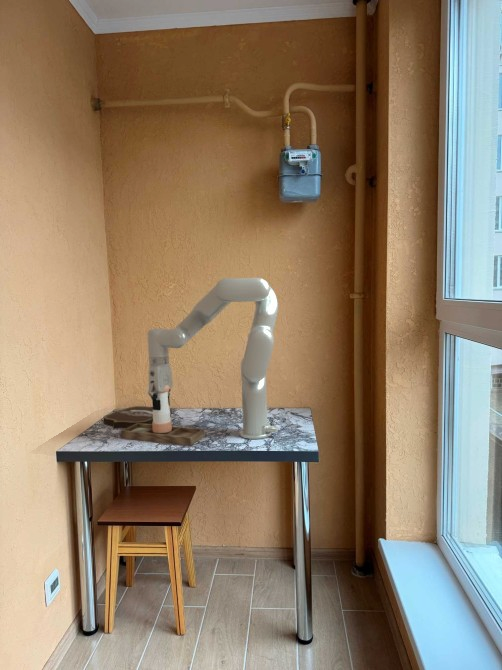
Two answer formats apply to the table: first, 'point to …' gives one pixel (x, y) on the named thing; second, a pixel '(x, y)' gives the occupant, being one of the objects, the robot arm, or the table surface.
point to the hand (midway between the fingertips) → (161, 407)
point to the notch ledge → (163, 434)
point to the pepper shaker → (162, 414)
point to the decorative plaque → (130, 417)
